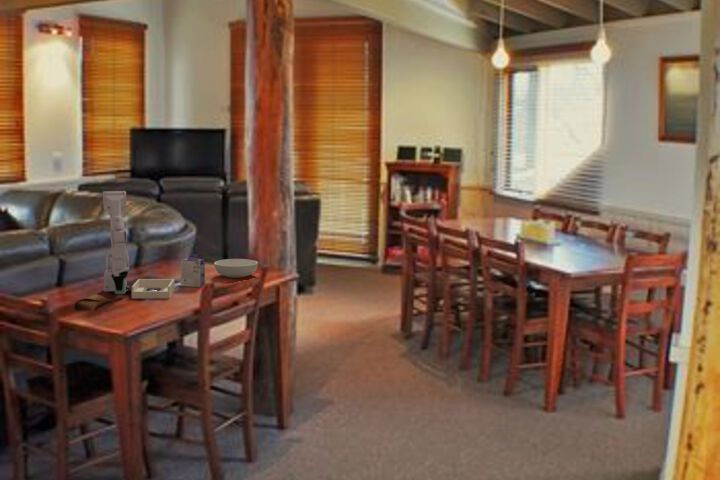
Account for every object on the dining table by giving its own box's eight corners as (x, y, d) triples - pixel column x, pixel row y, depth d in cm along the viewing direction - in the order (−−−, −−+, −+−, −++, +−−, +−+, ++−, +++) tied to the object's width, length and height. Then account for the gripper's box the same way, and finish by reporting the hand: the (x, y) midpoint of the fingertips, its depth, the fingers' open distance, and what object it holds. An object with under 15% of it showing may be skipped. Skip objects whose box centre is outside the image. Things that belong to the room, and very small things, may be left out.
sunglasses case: (94, 310, 349) (85, 296, 349) (80, 318, 350) (72, 304, 350) (113, 300, 367) (104, 286, 366) (99, 308, 368) (91, 294, 368)
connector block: (114, 293, 370) (114, 280, 369) (116, 291, 374) (116, 278, 373) (124, 293, 370) (123, 280, 369) (126, 291, 374) (125, 278, 373)
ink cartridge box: (205, 285, 398) (205, 254, 396) (201, 287, 393) (200, 256, 391) (185, 283, 400) (184, 253, 398) (180, 286, 395) (179, 255, 393)
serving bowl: (265, 277, 416) (265, 263, 415) (225, 282, 404) (225, 268, 403) (246, 270, 433) (245, 256, 432) (207, 274, 421) (206, 260, 420)
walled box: (131, 298, 371) (131, 287, 370) (138, 290, 386) (138, 279, 386) (169, 298, 372) (169, 286, 371) (174, 290, 387) (174, 279, 387)
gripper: (125, 261, 363) (126, 293, 365) (132, 255, 377) (133, 285, 379) (108, 261, 362) (109, 293, 364) (115, 255, 376) (116, 285, 379)
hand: (120, 289), depth 372 cm, fingers closed on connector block, 4 cm apart
